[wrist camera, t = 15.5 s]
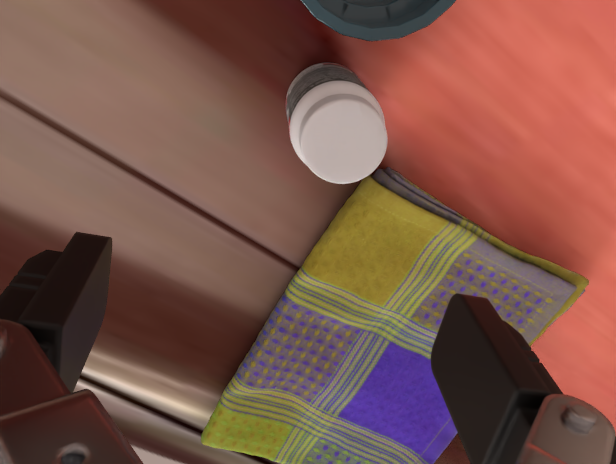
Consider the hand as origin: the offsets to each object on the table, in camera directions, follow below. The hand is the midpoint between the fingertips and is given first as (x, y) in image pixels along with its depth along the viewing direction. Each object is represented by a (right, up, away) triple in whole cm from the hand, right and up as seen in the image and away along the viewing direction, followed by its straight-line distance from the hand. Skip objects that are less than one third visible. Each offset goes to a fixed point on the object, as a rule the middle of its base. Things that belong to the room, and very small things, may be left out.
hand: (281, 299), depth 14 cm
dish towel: (+6, -7, +28) cm, 30 cm away
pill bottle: (+2, +9, +21) cm, 23 cm away
